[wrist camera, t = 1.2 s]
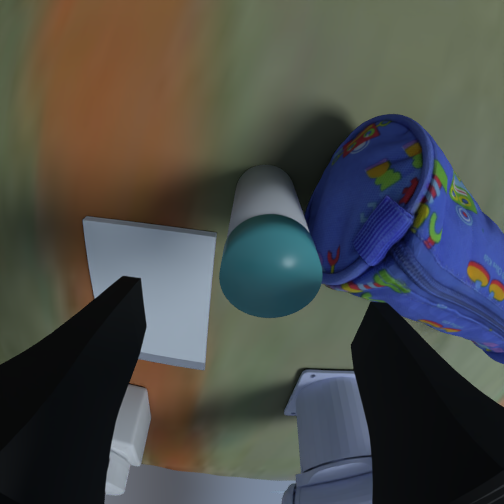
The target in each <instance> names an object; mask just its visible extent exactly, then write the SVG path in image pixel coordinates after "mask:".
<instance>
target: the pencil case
mask: <svg viewBox="0 0 504 504" xmlns="http://www.w3.org/2000/svg"><path fill="white" fill-rule="evenodd" d="M304 217H305V220H306V223H307V226H308V230H309V233H310V235H311V236H312V239H313V241H314V244H315V247H316V250H317V253H318V256H319V259H320V263H321V266H322V274H323V276H322V284H324V285H325V286H327V287H328V288H331V289H333V290H338V291H346V292H348V293H351V294H353V295H355V296H358V297H362V298H364V299H367V300H370V301H373V302H385V303H388V304H389V305H390V306H391V307H392V308H393V309H394V310H396V311H397V312H398V313H399V314H400V315H401V316H403V317H406V318H409V319H411V320H414V321H418V322H423V323H425V324H426V325H428V326H430V327H432V328H434V329H436V330H438V331H440V332H444V333H447V334H451V335H455V336H460V337H463V338H465V339H468V340H471V341H472V342H473V343H474V344H475V345H476V346H478V347H479V348H481V349H482V350H483V351H484V352H485V353H486V354H487V355H488V356H489V357H491V358H492V359H493V360H495V361H497V362H499V363H502V364H504V234H503V232H502V231H501V229H500V228H499V227H498V226H497V225H496V224H495V223H494V222H493V221H492V220H491V219H490V218H489V217H488V216H487V215H485V214H484V213H483V212H482V211H481V209H480V207H479V205H478V203H477V202H476V201H475V199H474V198H473V197H472V195H471V194H470V193H469V191H468V190H467V189H466V188H465V186H464V184H463V183H462V181H461V180H460V178H459V177H458V175H457V174H456V173H455V171H454V170H453V168H452V166H451V164H450V163H449V161H448V160H447V158H446V157H445V155H444V153H443V152H442V150H441V149H440V148H439V146H438V145H437V144H436V142H435V141H434V139H433V138H432V137H431V135H430V134H429V133H428V132H427V131H426V130H425V129H423V127H422V126H421V125H420V124H419V123H417V122H416V121H415V120H413V119H411V118H409V117H406V116H403V115H398V114H387V115H381V116H377V117H375V118H372V119H370V120H368V121H366V122H364V123H362V124H361V125H360V126H358V127H357V128H356V129H355V130H354V131H352V132H351V134H350V135H349V136H348V137H347V138H346V140H345V141H344V142H342V143H341V145H340V146H339V147H338V149H337V150H336V151H335V152H334V154H333V156H332V158H331V160H330V162H329V164H328V166H327V167H326V169H325V171H324V173H323V175H322V177H321V179H320V181H319V183H318V184H317V186H316V188H315V190H314V192H313V194H312V196H311V198H310V201H309V203H308V206H307V209H306V212H305V215H304Z"/></svg>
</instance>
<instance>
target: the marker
mask: <svg viewBox="0 0 504 504" xmlns="http://www.w3.org/2000/svg"><path fill="white" fill-rule="evenodd" d="M322 276H323V274H322V266H321V263H320V259H319V256H318V253H317V250H316V247H315V244H314V241H313V239H312V236H311V235H310V233H309V230H308V226H307V223H306V220H305V217H304V214H303V211H302V208H301V205H300V202H299V199H298V197H297V194H296V191H295V188H294V185H293V182H292V180H291V178H290V177H289V175H288V174H287V173H286V172H285V171H283V170H282V169H280V168H278V167H276V166H273V165H258V166H254V167H252V168H250V169H248V170H247V171H246V172H244V174H243V175H242V176H241V177H240V179H239V180H238V183H237V186H236V191H235V196H234V202H233V207H232V213H231V218H230V224H229V230H228V236H227V240H226V243H225V246H224V251H223V257H222V262H221V268H220V277H219V279H220V285H221V289H222V291H223V293H224V295H225V296H226V298H227V299H228V300H229V302H230V303H231V304H232V305H234V306H235V307H236V308H238V309H239V310H241V311H243V312H245V313H247V314H250V315H253V316H257V317H263V318H276V317H282V316H287V315H290V314H292V313H295V312H297V311H299V310H300V309H302V308H304V307H305V306H306V305H308V304H309V303H310V302H311V301H312V300H313V298H314V297H315V296H316V294H317V293H318V291H319V289H320V286H321V283H322Z"/></svg>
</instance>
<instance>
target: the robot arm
mask: <svg viewBox="0 0 504 504" xmlns="http://www.w3.org/2000/svg"><path fill="white" fill-rule="evenodd" d="M146 328H147V324H146V316H145V309H144V301H143V292H142V283H141V278H137V277H129V276H122V277H120V278H119V279H118V280H117V281H115V282H114V283H113V284H112V285H111V286H109V287H108V288H107V289H106V290H105V291H103V292H102V293H101V294H100V295H99V296H98V297H96V298H95V299H94V300H93V301H92V302H90V303H89V304H88V305H87V306H85V307H84V308H83V309H82V310H81V311H79V312H78V313H77V314H76V315H74V316H73V317H72V318H71V319H69V320H68V321H67V322H65V323H64V324H63V325H61V326H60V327H59V328H58V329H56V330H55V331H54V332H52V333H51V334H50V335H48V336H47V337H45V338H44V339H42V340H41V341H40V342H38V343H36V344H35V345H33V346H32V347H30V348H29V349H27V350H26V351H24V352H22V353H21V354H19V355H17V356H15V357H14V358H12V359H10V360H8V361H6V362H5V363H3V364H1V365H0V504H104V500H105V487H106V477H107V468H108V462H109V455H110V449H111V444H112V438H113V434H114V429H115V424H116V420H117V416H118V413H119V410H120V407H121V404H122V401H123V398H124V395H125V393H126V390H127V387H128V384H129V382H130V379H131V376H132V374H133V371H134V368H135V366H136V363H137V360H138V358H139V355H140V352H141V348H142V344H143V340H144V336H145V332H146ZM351 351H352V360H353V367H354V371H331V370H304V371H303V372H302V373H301V375H300V377H299V380H298V382H297V384H296V386H295V388H294V391H293V393H292V395H291V397H290V399H289V401H288V403H287V405H286V408H285V410H284V414H285V415H289V416H297V427H298V439H299V452H300V466H301V474H296V484H291V485H290V486H289V487H288V489H287V490H286V491H285V492H284V495H283V498H282V504H504V407H503V406H501V405H499V404H498V403H496V402H495V401H494V400H492V399H491V398H489V397H488V396H486V395H485V394H484V393H482V392H481V391H480V390H478V389H477V388H476V387H474V386H473V385H472V384H471V383H470V382H468V381H467V380H466V379H465V378H464V377H462V376H461V375H460V374H459V373H458V372H457V371H456V370H454V369H453V368H452V367H451V366H450V365H449V364H448V363H447V362H446V361H445V360H444V359H443V358H442V357H441V356H440V355H439V354H438V353H437V352H436V351H435V350H434V349H433V348H432V347H431V346H430V345H429V344H428V343H427V342H426V341H425V340H424V339H423V338H422V337H421V336H420V335H419V334H418V333H417V332H416V331H415V330H414V329H413V328H412V327H411V326H410V325H409V324H408V322H407V321H406V320H405V319H404V318H403V317H402V316H401V315H400V314H399V313H398V312H397V311H396V310H394V309H393V308H392V307H391V306H390V305H389V304H388V303H385V302H370V304H369V307H368V309H367V311H366V313H365V316H364V318H363V320H362V322H361V325H360V327H359V329H358V331H357V333H356V335H355V337H354V340H353V342H352V344H351Z"/></svg>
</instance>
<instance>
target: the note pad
mask: <svg viewBox="0 0 504 504" xmlns="http://www.w3.org/2000/svg"><path fill="white" fill-rule="evenodd" d="M83 228H84V236H85V244H86V251H87V258H88V264H89V271H90V276H91V282H92V287H93V293H94V298H96V297H98V296H99V295H100V294H101V293H102V292H103V291H105V290H106V289H107V288H108V287H109V286H111V285H112V284H113V283H114V282H115V281H117V280H118V279H119V278H120V277H122V276H129V277H137V278H141V283H142V292H143V301H144V309H145V316H146V324H147V328H146V332H145V336H144V340H143V344H142V348H141V352H140V355H139V358H138V359H142V360H147V361H152V362H157V363H163V364H168V365H174V366H180V367H186V368H193V369H199V370H204V369H205V361H206V347H207V334H208V321H209V309H210V298H211V287H212V276H213V266H214V256H215V246H216V236H217V233H216V232H209V231H201V230H194V229H186V228H178V227H171V226H163V225H155V224H147V223H139V222H131V221H123V220H115V219H106V218H98V217H90V216H86V217H85V218H84V219H83Z"/></svg>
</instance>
